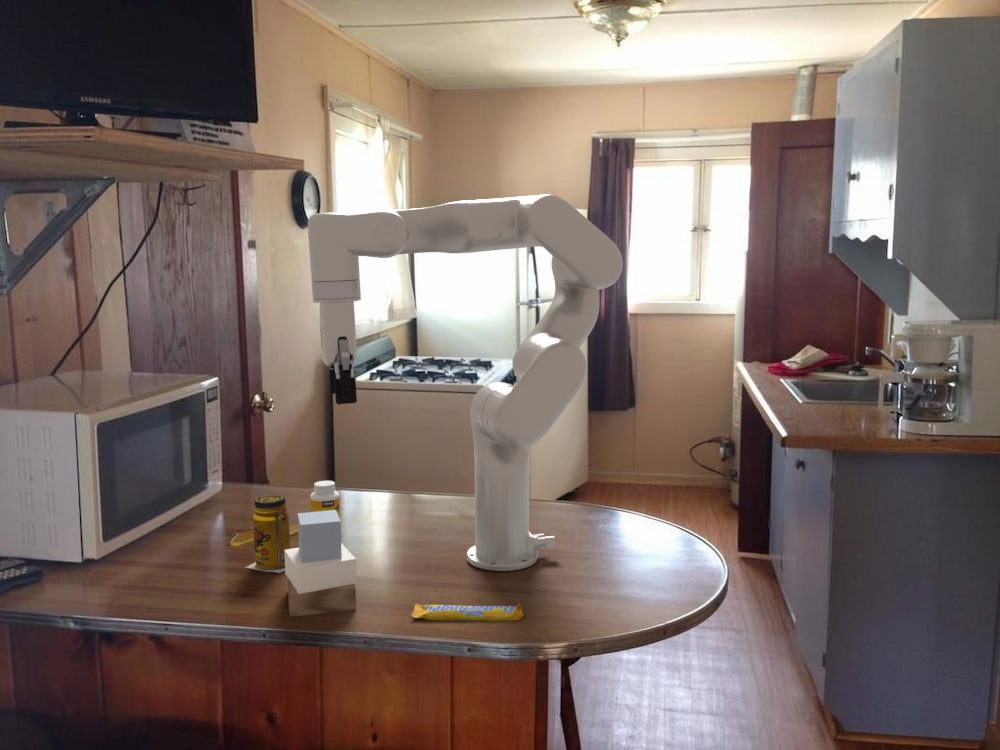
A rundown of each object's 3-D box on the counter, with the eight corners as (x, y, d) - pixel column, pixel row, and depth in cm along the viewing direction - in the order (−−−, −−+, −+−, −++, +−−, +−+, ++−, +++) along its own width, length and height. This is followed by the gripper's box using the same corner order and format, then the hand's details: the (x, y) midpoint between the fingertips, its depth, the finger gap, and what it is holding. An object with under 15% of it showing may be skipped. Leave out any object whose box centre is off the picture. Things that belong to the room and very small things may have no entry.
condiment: (244, 568, 149) (241, 501, 147) (274, 552, 156) (271, 488, 155) (279, 574, 146) (276, 506, 144) (308, 557, 154) (305, 492, 152)
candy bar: (523, 612, 131) (523, 601, 131) (523, 624, 127) (523, 613, 127) (414, 611, 132) (414, 600, 132) (411, 623, 128) (410, 611, 127)
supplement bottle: (321, 541, 162) (319, 489, 160) (306, 534, 166) (303, 483, 164) (346, 534, 166) (344, 483, 164) (330, 527, 170) (328, 477, 168)
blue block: (337, 545, 138) (336, 509, 137) (341, 558, 132) (340, 521, 131) (299, 549, 136) (297, 513, 135) (301, 562, 131) (300, 524, 130)
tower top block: (340, 564, 141) (339, 540, 140) (356, 583, 133) (355, 558, 132) (285, 573, 137) (284, 549, 136) (298, 594, 129) (297, 568, 128)
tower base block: (350, 587, 141) (350, 564, 141) (356, 612, 132) (355, 587, 131) (288, 593, 139) (287, 570, 138) (289, 619, 129) (288, 594, 129)
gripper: (309, 290, 143) (316, 390, 146) (316, 296, 126) (323, 410, 129) (354, 287, 145) (360, 387, 148) (367, 293, 128) (373, 405, 131)
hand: (343, 397), depth 138 cm, fingers open, 9 cm apart
